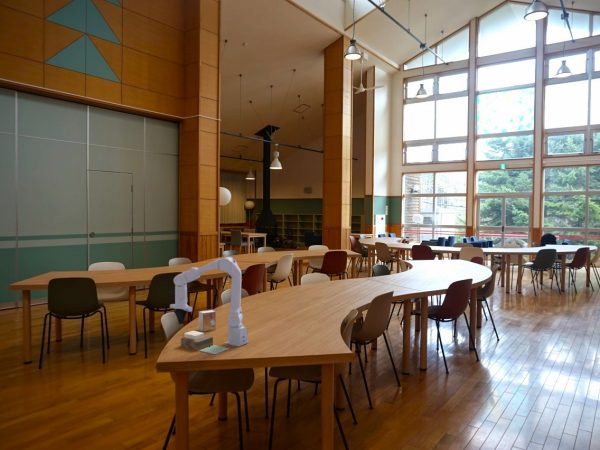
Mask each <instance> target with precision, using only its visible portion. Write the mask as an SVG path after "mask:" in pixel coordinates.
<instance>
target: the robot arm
mask: <svg viewBox="0 0 600 450" xmlns="http://www.w3.org/2000/svg"><path fill="white" fill-rule="evenodd" d="M213 269H216V270H219V269H220V270H221V271H223V272H225V273H227V274H228V275H229V276H230V277H231V289H230V291H231V292H230V310H229V316H228V317H227V324H228V328H227V329H228V331H227V332H228V333H227V334H228V340H227V341H224V344H225V345H230V346H235V347H241V346H243V345H244V346H245V345H246V344H248V343H249V341H248V329H247V328H246V327H245V326H244V325H243V322H242V321H243V319H244V315H243V312H242V311H243V310H242V309H243V308H242V306H241V305H242V301H241V300H242V277H243V276H242V270H241V268H240V267H239V264H238V262H237V260H236V259H234V257H232V256H226V257H222V258H219V259H216V260H213V261H211V262H209V263H207V264H205V265H203V266H200V267H196V266H195V267H193V266H192V267H190V268H189V269H188V270H186V271H181V273H179V274H177V275H176V276H175V277H174V278H173V283H174V285H175V286H174V288H175V289H174V295H175V296H174V298H175V299H174V301H175V303H172V304H171V303H170V304H169V308H170V309H175V310H173V313H174V315H175V316H176V319H177V321H178V322H177V323H178V325H183V324H184V323H185V318H186V316H187V314H188V313H189V312H190V313H191V312H193V307H192V306H190V305H188V298H187V297H188V295H187V294H188V287H187V286H188V285H187V283H191V282H193V281H195V280H197V279H199V278H200V277H201V275H203V274H205V273H206V272H210V270H213Z"/></svg>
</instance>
